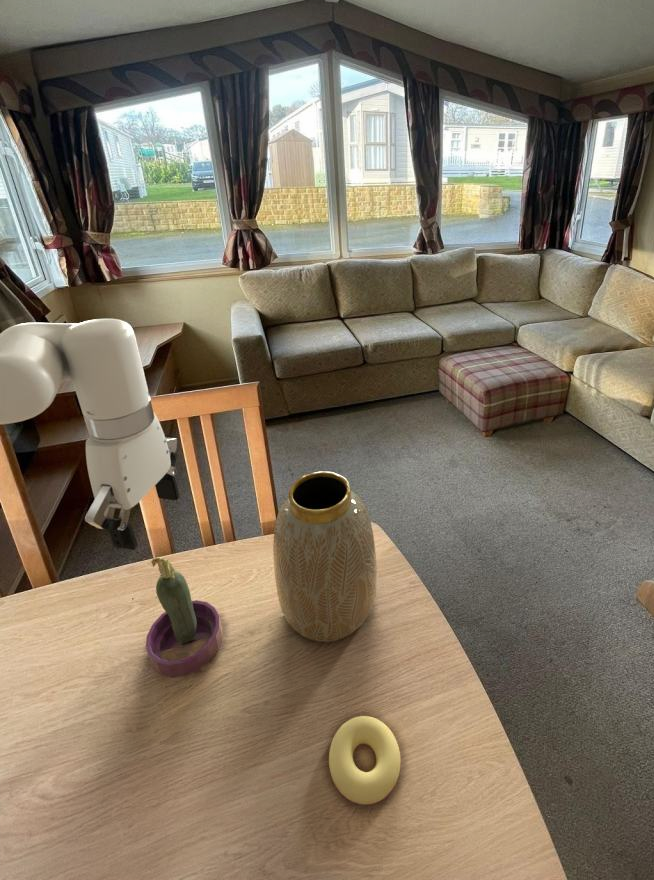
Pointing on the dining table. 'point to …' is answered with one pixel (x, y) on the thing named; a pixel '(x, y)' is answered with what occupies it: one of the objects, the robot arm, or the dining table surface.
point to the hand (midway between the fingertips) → (148, 520)
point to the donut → (345, 772)
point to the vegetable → (176, 600)
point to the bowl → (164, 640)
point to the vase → (324, 558)
